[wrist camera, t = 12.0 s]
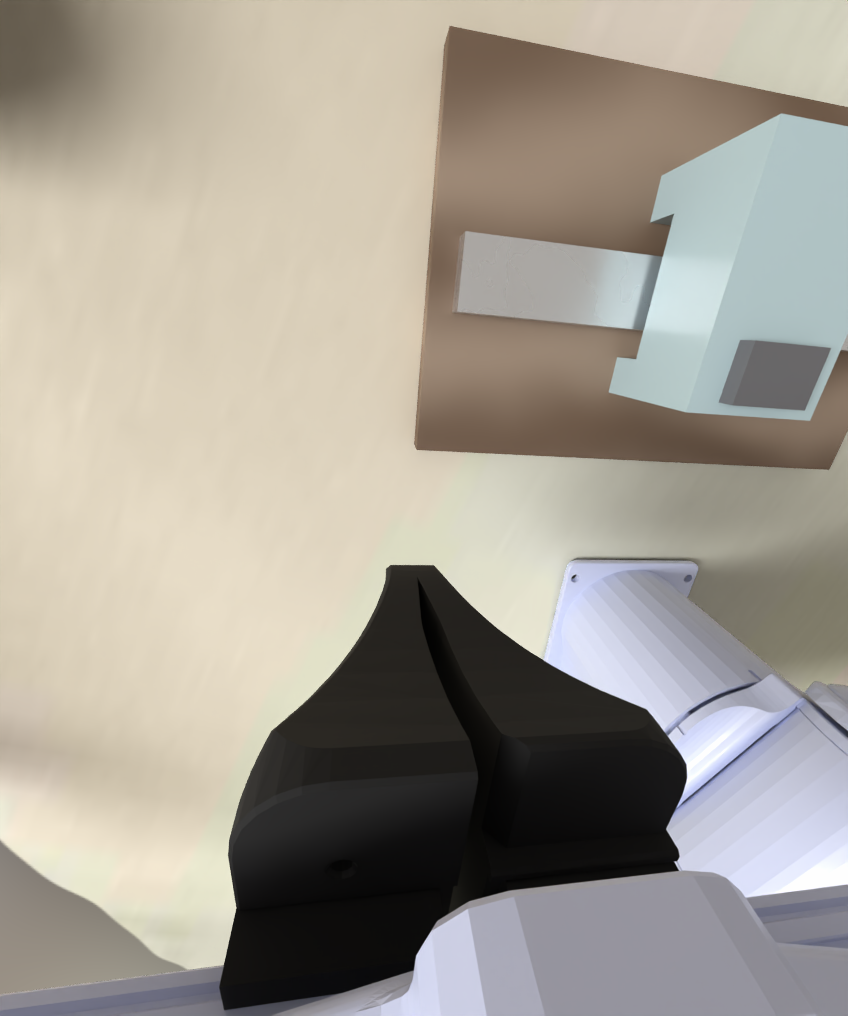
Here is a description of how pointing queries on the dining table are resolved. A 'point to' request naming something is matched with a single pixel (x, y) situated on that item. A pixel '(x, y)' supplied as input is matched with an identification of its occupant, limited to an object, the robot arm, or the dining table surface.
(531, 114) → the rail board
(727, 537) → the dining table surface
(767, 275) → the module
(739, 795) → the robot arm
